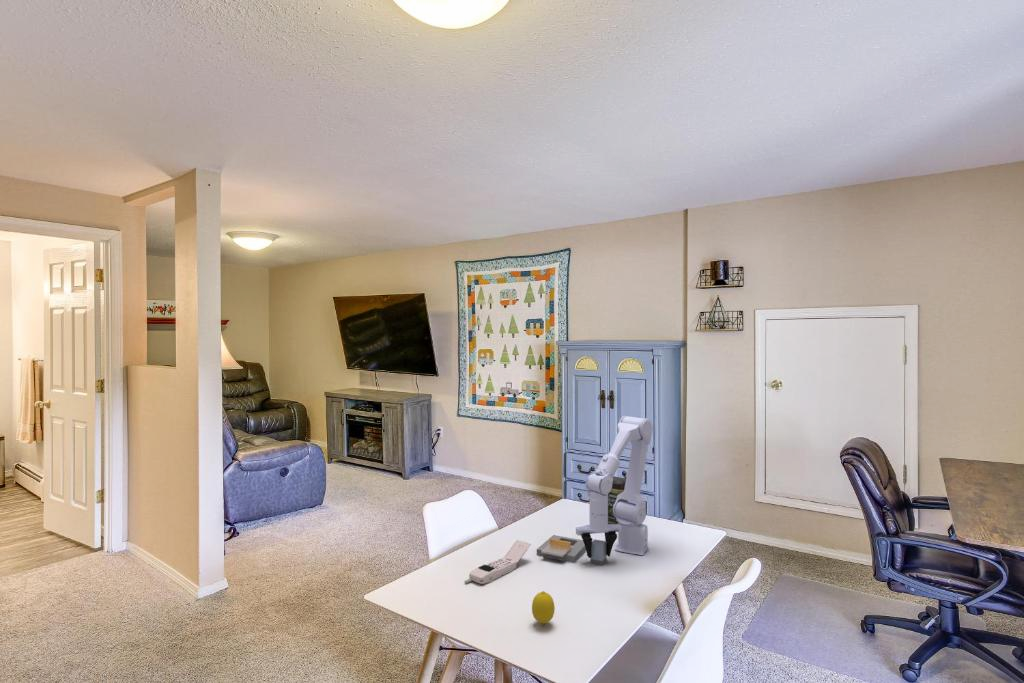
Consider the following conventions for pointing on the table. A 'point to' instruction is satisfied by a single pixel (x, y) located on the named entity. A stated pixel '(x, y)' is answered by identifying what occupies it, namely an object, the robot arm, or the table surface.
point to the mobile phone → (499, 565)
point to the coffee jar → (615, 497)
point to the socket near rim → (580, 546)
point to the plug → (598, 552)
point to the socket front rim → (568, 539)
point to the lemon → (543, 607)
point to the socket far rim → (553, 538)
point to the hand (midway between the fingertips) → (598, 556)
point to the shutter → (557, 548)
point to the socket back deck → (570, 556)
